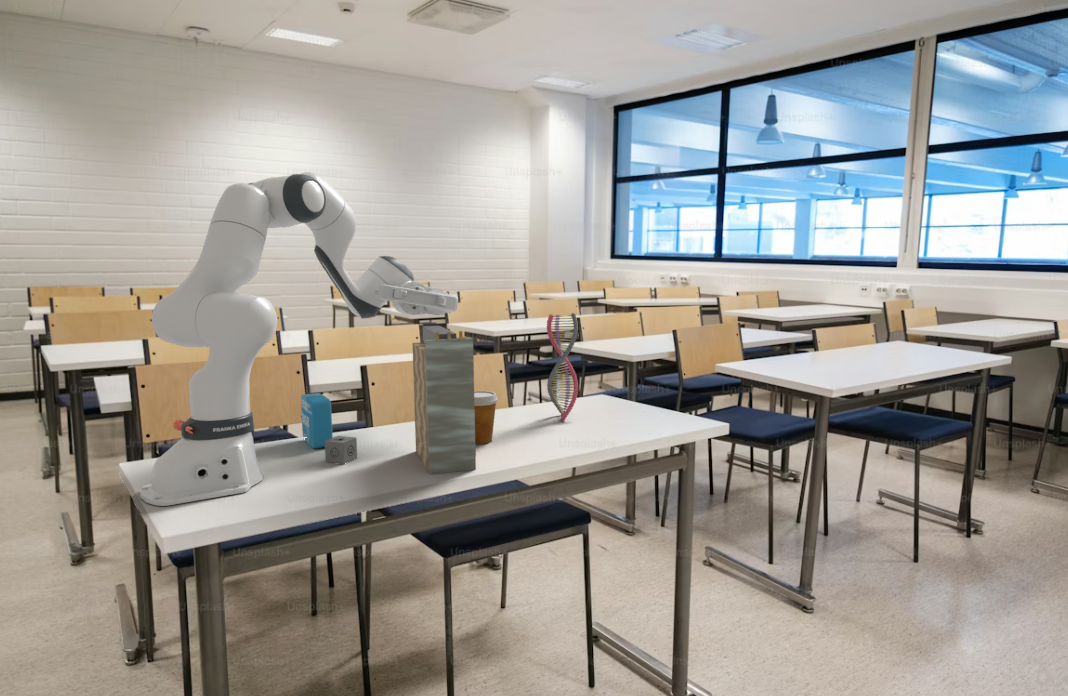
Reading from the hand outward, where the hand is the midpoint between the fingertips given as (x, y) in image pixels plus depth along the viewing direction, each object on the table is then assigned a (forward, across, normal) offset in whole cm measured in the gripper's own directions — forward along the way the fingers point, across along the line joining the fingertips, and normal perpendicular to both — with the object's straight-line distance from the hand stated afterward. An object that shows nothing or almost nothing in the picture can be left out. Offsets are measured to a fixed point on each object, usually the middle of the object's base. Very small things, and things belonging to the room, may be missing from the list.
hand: (422, 297), depth 171 cm
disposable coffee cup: (+2, +19, +34) cm, 39 cm away
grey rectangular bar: (+15, +3, +11) cm, 19 cm away
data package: (-10, -19, +40) cm, 45 cm away
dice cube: (+8, -14, +40) cm, 44 cm away
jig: (+15, +8, +36) cm, 40 cm away
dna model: (-14, +47, +27) cm, 56 cm away
